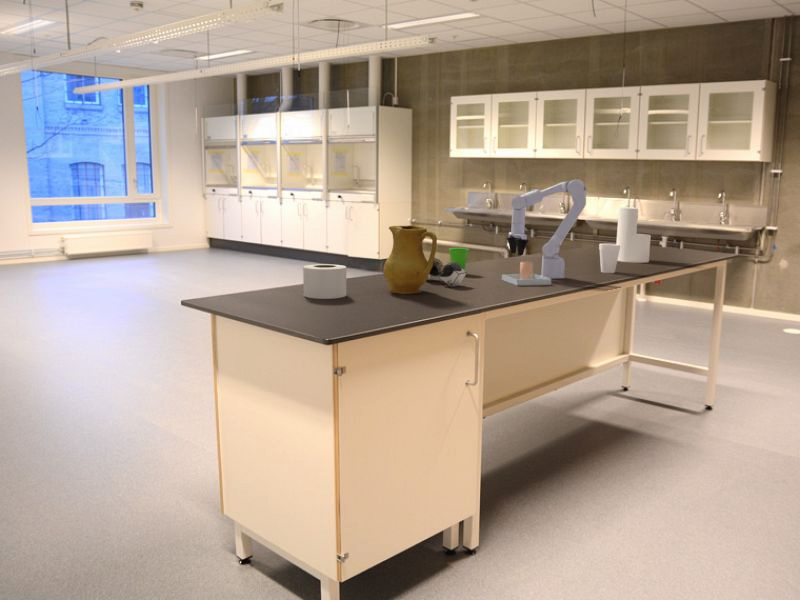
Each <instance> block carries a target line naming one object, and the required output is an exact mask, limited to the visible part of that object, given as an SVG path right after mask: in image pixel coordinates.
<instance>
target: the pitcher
mask: <svg viewBox="0 0 800 600" xmlns="http://www.w3.org/2000/svg"><path fill="white" fill-rule="evenodd" d="M388 229H389V231H390V232H391V234H392V241H393V243H392V249H391V251H390V254H389V255H388V258H387V259H386V261H385V262H384V265H383V275H384V277H385V278H386V282H387V283H388V284H389V287H390V289H389V290H388V291H389V292H390V293H393V294H399V295H409V294H410V295H411V294H421V293H423V291H422V290H421V289H420V288H421V286H423V285H424V284H425V283H426V282H427V281H428V280H427V279H428V276H429V273H430V270H431V269H432V266H433V262H434V258H435V256H436V252H437V244H438V237H437V235H436V233H435V232H434V231H429V230H427V229H428V228H427V227H425V226H419V225H418V226H417V225H415V224H414V225H413V224H411V225H391V226H389V227H388ZM427 237H429V238H430V239H431V242H432V243H431V249H430V255H429V257H428V260H429V261H428V260H427V258H426V256H425V253H424V251H423V249H424V248H423V241H424V240H425V238H427ZM427 261H428V262H427Z"/></svg>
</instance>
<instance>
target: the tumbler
mask: <svg viewBox="0 0 800 600" xmlns="http://www.w3.org/2000/svg"><path fill="white" fill-rule="evenodd" d="M533 268H534V262H532V261H520V265H519V274H520V280H527V279H532V274H534V272H533V270H534V269H533Z"/></svg>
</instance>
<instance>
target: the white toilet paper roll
mask: <svg viewBox="0 0 800 600" xmlns="http://www.w3.org/2000/svg"><path fill="white" fill-rule="evenodd" d="M302 271H303V276H302V279H303V282H302V283H303V285H302V286H303V297H305V298H309V299H315V300H316V299H318V300H332V299H333V300H334V299H342V298H345V297H346V296H347V266H346V265H341V264H331V263H322V264H321V263H319V264H315V263H314V264H307V265H303V269H302Z"/></svg>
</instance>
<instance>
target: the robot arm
mask: <svg viewBox="0 0 800 600" xmlns="http://www.w3.org/2000/svg"><path fill="white" fill-rule="evenodd" d="M558 193H568V194H569V195H570V196H571V199H572V202H573V204H572V206H571V207H570V208H569V210H568V212H567V214H566V215H565V216H564V218H563V220H562V221H561V222H560V225H559V226H558V227H557V229H556V230H555V232H554V234H553V235H552V236H551V238H550V239H549V241H548V242H546V243H545V244H544V245H543V246H542V247H541V253H542V254H543V255H542V256H541V257H542V258H541V272H540V273H541V274H539V275H540V276H543V277H546V278H549V279H551V280H552V279H565V278H566V277H565V266H566V264H565V259H564V258H563V257H560V256H559V252H560V251H561V245H562V243H563V242H564V239H565V238H566V236H567V235H568V234H569V232H570V230H571V229H572V228H573V226H574V224H575V223H576V222H577V220H578V218H579V216H581V214H582V212H583V210H584V208H585V207H586V205H587V188H586V184H585V182H583V180H581V179H572V180H567V181H562V182H559V183H556V184H555V185H552V186H549V187H548V188H544V189H542V190H540V189H539V188H536V189H535V188H532V189H531V190H530V191H527V192H526V193H524V192H522V193H521V195H516V196H515V197H513V198H512V200H511V207H512V209H511V210H512V212H511V228H510V229H511V231H509V232H508V237H506V240H507V243H508V247H509V250H510V254H516V252H517V256H523V255H524V252H525V249H526V247H527V245H528V243H529V239H527V238H528V234H525V230H526V229H525V225H526V223H525V222H526V207H530V206H533V205H535V204H539V203H541V202H542V201H543V200H544V198H546V197H549V196H552V195H554V194H558Z"/></svg>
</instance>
